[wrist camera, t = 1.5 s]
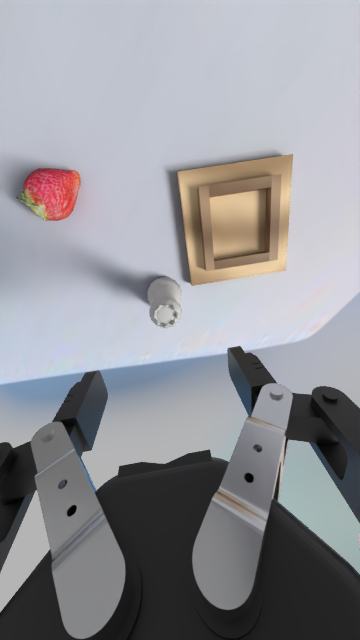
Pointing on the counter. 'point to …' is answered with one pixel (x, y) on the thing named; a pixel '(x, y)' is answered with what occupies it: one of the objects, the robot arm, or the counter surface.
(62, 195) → the fruit
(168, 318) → the rook chess piece
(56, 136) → the counter surface
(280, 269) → the display stand
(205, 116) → the counter surface
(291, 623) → the robot arm
